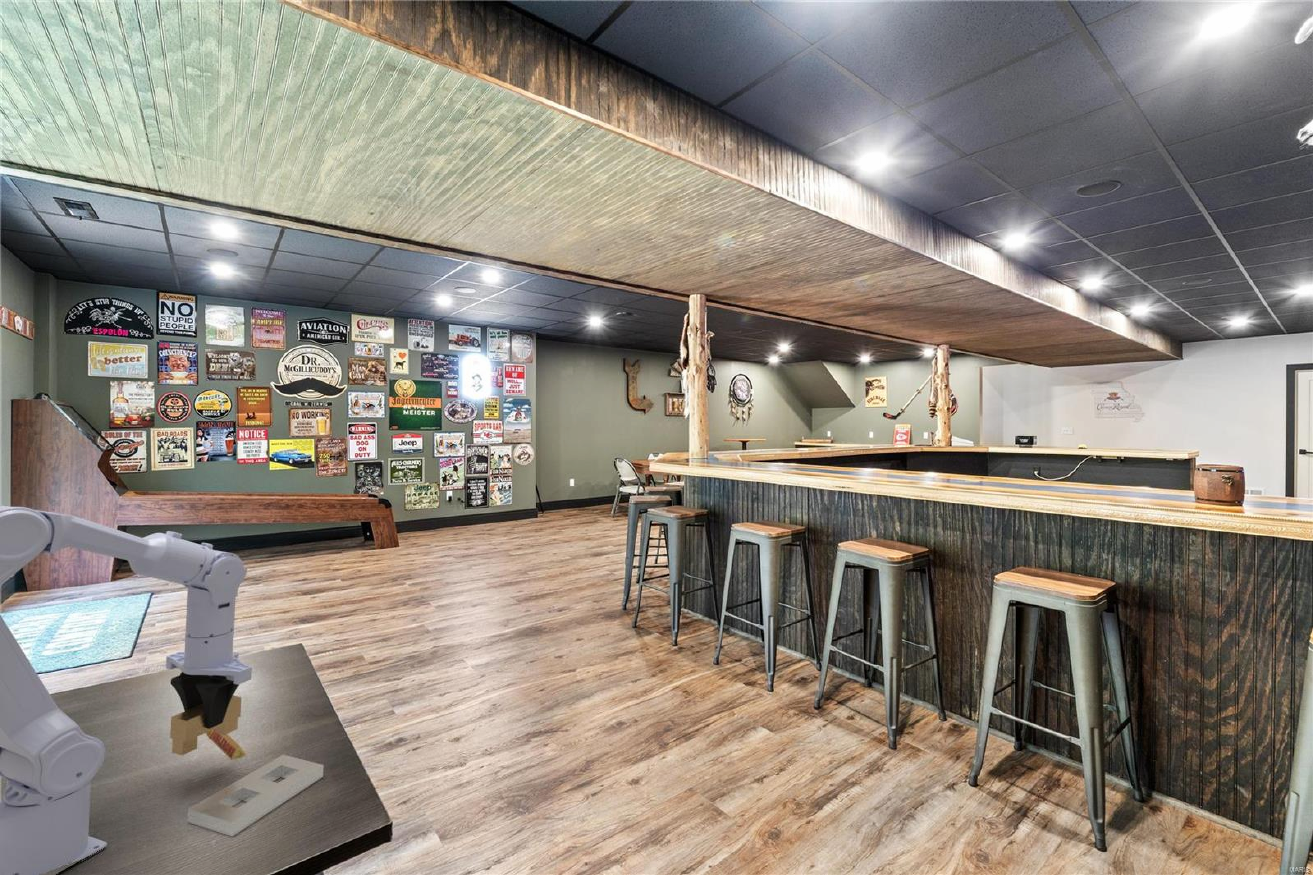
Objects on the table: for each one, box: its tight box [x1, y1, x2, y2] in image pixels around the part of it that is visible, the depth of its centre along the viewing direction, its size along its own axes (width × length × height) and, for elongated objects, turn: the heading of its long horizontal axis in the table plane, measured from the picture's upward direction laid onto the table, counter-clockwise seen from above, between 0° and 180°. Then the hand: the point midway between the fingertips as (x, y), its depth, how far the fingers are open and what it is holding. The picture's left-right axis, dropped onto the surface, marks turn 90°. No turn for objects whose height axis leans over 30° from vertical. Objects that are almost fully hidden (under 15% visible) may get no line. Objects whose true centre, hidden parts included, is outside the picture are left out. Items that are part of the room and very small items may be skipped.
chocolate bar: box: [205, 729, 247, 761], centre depth 96 cm, size 3×12×2 cm, turn 54°
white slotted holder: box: [187, 754, 324, 837], centre depth 82 cm, size 14×8×2 cm, turn 164°
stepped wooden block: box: [169, 694, 242, 756], centre depth 86 cm, size 8×3×5 cm, turn 164°
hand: (205, 723), depth 85 cm, fingers closed on stepped wooden block, 3 cm apart
